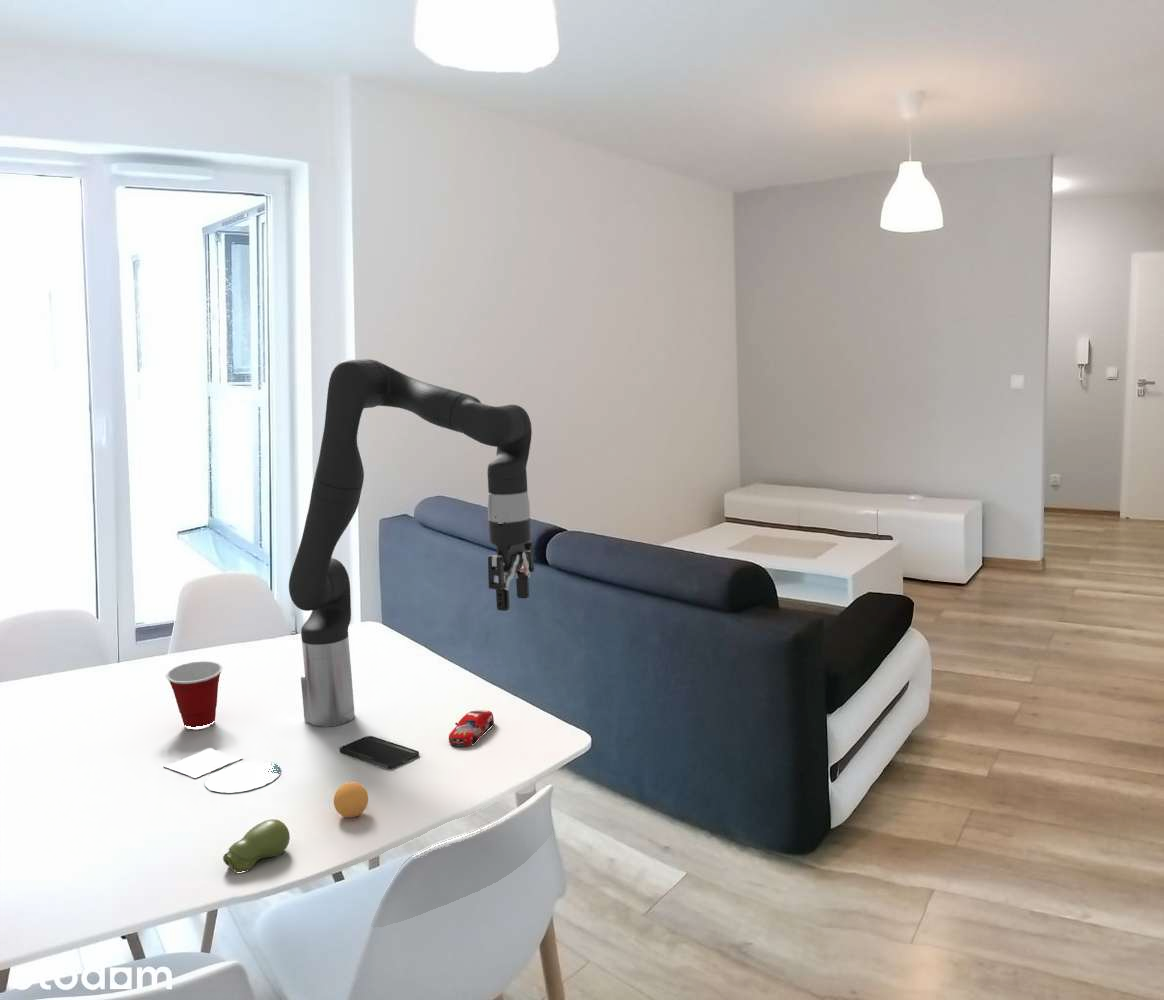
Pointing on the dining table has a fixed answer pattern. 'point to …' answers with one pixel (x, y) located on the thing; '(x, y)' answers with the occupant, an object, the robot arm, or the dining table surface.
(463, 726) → the race car
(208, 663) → the plastic cup
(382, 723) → the dining table surface
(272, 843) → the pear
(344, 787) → the ball
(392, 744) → the phone
